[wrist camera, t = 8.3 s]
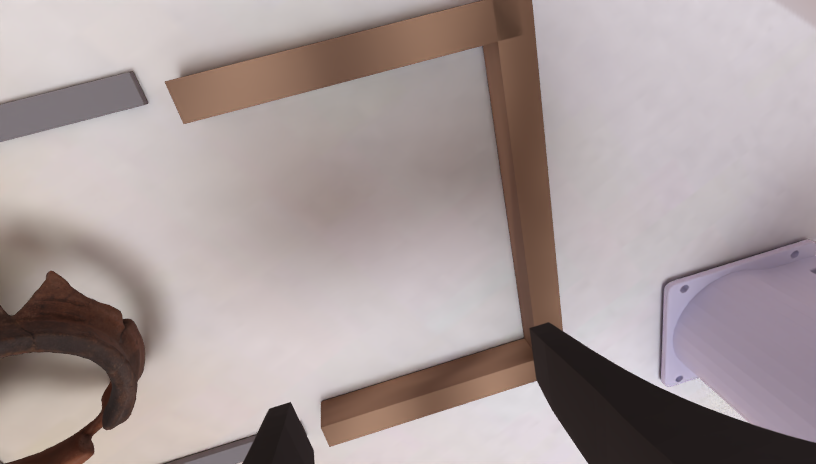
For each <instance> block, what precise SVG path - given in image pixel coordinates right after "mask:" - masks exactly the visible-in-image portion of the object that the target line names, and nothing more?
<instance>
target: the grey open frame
mask: <svg viewBox="0 0 816 464" xmlns="http://www.w3.org/2000/svg"><path fill="white" fill-rule="evenodd" d="M146 104H148V102H147V100H146V98H145V95H144V93H143V91H142V89H141V87H140V85H139V83H138V81H137V79H136V77H135V75H134V72H127V73H123V74H119V75H115V76H111V77H108V78H104V79H100V80H96V81H92V82H88V83H84V84H80V85H76V86H72V87H68V88H64V89H60V90H56V91H52V92H48V93H44V94H40V95H36V96H32V97H28V98H24V99H20V100H16V101H13V102H9V103H5V104H1V105H0V142H3V141H7V140H10V139H14V138H18V137H22V136H26V135H30V134H34V133H37V132H41V131H45V130H49V129H53V128H57V127H61V126H65V125H68V124H72V123H76V122H80V121H84V120H88V119H92V118H96V117H99V116H103V115H107V114H111V113H115V112H119V111H123V110H127V109H130V108H134V107H138V106H142V105H146ZM300 423H301V422H300ZM301 425H302V424H301ZM302 427H303V426H302ZM255 437H256V435H254V436H251V437H248V438H245V439H242V440H239V441H235V442H232V443H229V444H226V445H223V446H219V447H216V448H213V449H210V450H207V451H204V452H200V453H197V454H194V455H191V456H188V457H184V458H181V459H178V460H175V461H172V462H169V463H165V464H237V463H240V462H243V461H244V459H245V457H246V455H247V453H248V451H249V449H250V447H251V445H252V443H253V441H254V439H255ZM0 464H2V463H1V462H0Z"/></svg>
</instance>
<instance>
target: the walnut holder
mask: <svg viewBox="0 0 816 464" xmlns="http://www.w3.org/2000/svg"><path fill="white" fill-rule="evenodd" d="M479 46H483V51H484V58H485V65H486V72H487V79H488V86H489V93H490V100H491V107H492V114H493V121H494V128H495V135H496V142H497V149H498V156H499V163H500V170H501V177H502V184H503V191H504V198H505V205H506V212H507V219H508V226H509V233H510V240H511V248H512V255H513V262H514V269H515V276H516V283H517V290H518V297H519V304H520V311H521V318H522V325H523V332H524V338H523V339H520V340H517V341H514V342H511V343H507V344H504V345H501V346H498V347H495V348H491V349H488V350H485V351H482V352H479V353H475V354H472V355H469V356H466V357H463V358H459V359H456V360H453V361H450V362H447V363H443V364H440V365H437V366H434V367H431V368H427V369H424V370H421V371H418V372H415V373H411V374H408V375H405V376H402V377H399V378H395V379H392V380H389V381H386V382H382V383H379V384H376V385H373V386H370V387H366V388H363V389H360V390H357V391H354V392H350V393H347V394H344V395H341V396H338V397H334V398H331V399H328V400H325V401H322V402H321V429H322V431H323V433H324V436H325V438H326V440H327V442H328V444H329V447H331V446H334V445H337V444H340V443H343V442H347V441H350V440H353V439H356V438H359V437H362V436H365V435H368V434H372V433H375V432H378V431H381V430H384V429H387V428H390V427H393V426H397V425H400V424H403V423H406V422H409V421H412V420H415V419H418V418H422V417H425V416H428V415H431V414H434V413H437V412H440V411H443V410H447V409H450V408H453V407H456V406H459V405H462V404H465V403H468V402H472V401H475V400H478V399H481V398H484V397H487V396H490V395H493V394H497V393H500V392H503V391H506V390H509V389H512V388H515V387H519V386H522V385H525V384H528V383H531V382H534V381H537V380H536V374H535V367H534V359H533V352H532V344H531V337H530V330H529V328H531V327H535V326H538V325H541V324H544V323H547V322H549V323H551V324H553V325H554V326H556V327H557V328H559V329H560V330H562V331H563V328H562V317H561V306H560V296H559V285H558V274H557V263H556V253H555V242H554V231H553V220H552V210H551V199H550V188H549V177H548V166H547V156H546V145H545V134H544V123H543V113H542V102H541V91H540V80H539V69H538V59H537V48H536V37H535V26H534V16H533V5H532V0H482V1H478V2H474V3H470V4H466V5H462V6H458V7H455V8H451V9H447V10H443V11H439V12H435V13H431V14H427V15H423V16H419V17H415V18H412V19H408V20H404V21H400V22H396V23H392V24H388V25H384V26H380V27H376V28H372V29H368V30H365V31H361V32H357V33H353V34H349V35H345V36H341V37H337V38H333V39H329V40H325V41H322V42H318V43H314V44H310V45H306V46H302V47H298V48H294V49H290V50H286V51H282V52H278V53H275V54H271V55H267V56H263V57H259V58H255V59H251V60H247V61H243V62H239V63H235V64H232V65H228V66H224V67H220V68H216V69H212V70H208V71H204V72H200V73H196V74H192V75H188V76H185V77H181V78H177V79H173V80H169V81H165V84H166V86H167V88H168V90H169V93H170V95H171V97H172V99H173V101H174V104H175V106H176V108H177V110H178V113H179V115H180V117H181V119H182V121H183V124H186V123H190V122H194V121H198V120H202V119H205V118H209V117H213V116H217V115H221V114H224V113H228V112H232V111H236V110H240V109H243V108H247V107H251V106H255V105H259V104H262V103H266V102H270V101H274V100H278V99H281V98H285V97H289V96H293V95H297V94H300V93H304V92H308V91H312V90H316V89H319V88H323V87H327V86H331V85H335V84H338V83H342V82H346V81H350V80H354V79H357V78H361V77H365V76H369V75H373V74H376V73H380V72H384V71H388V70H392V69H396V68H399V67H403V66H407V65H411V64H415V63H418V62H422V61H426V60H430V59H434V58H437V57H441V56H445V55H449V54H453V53H456V52H460V51H464V50H468V49H472V48H475V47H479Z"/></svg>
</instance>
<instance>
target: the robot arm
mask: <svg viewBox="0 0 816 464" xmlns="http://www.w3.org/2000/svg"><path fill="white" fill-rule="evenodd" d="M682 286H683V287H682ZM681 287H682V288H681ZM529 330H530V337H531V344H532V352H533V359H534V367H535V374H536V380H537V382H538V384H539V386H540V388H541V390H542V392H543V394H544V396H545V397H546V399H547V401H548V403H549V405H550V407H551V409H552V411H553V412H554V414H555V415H556V417H557V418H558V420H559V421H560V423H561V424H562V426H563V427H564V429H565V430H566V432H567V433H568V434H569V436H570V437H571V439H572V440H573V442H574V443H575V445H576V446H577V448H578V449H579V451H580V452H581V454H582V455H583V457H584V458H585V459H586V461H587V462H588V464H816V242H814V241H811V240H809V239H808V240H803V241H800V242H797V243H794V244H790V245H787V246H784V247H781V248H778V249H774V250H771V251H768V252H765V253H761V254H758V255H755V256H752V257H749V258H745V259H742V260H739V261H736V262H732V263H729V264H726V265H723V266H720V267H716V268H713V269H710V270H707V271H703V272H700V273H697V274H694V275H691V276H687V277H684V278H681V279H678V280H674V281H672V282H669V283H668V284H667V285H666V286H665V289H664V307H663V337H662V368H661V381H662V383H663V384H664V385H665V386H667V387H671V386H674V385H677V384H680V383H683V382H686V381H690V380H693V379H696V378H700V379H701V380H702V381H703V382H704V383H705V384H707V385H708V386H709V387H710V388H711V389H712V390H713V391H714V392H716V393H717V394H718V395H719V396H720V397H721V398H722V399H723V400H724V401H726V402H727V403H728V404H729V405H730V406H731V407H732V408H733V409H735V410H736V411H737V412H738V413H739V414H740V415H741V416H742V417H744V418H745V419H746V420H747V421H748V422H749V423H747V422H744V421H741V420H738V419H735V418H732V417H729V416H727V415H724V414H722V413H719V412H716V411H714V410H711V409H708V408H706V407H703V406H700V405H698V404H696V403H693V402H691V401H688V400H686V399H684V398H681V397H679V396H677V395H675V394H673V393H670V392H668V391H666V390H664V389H662V388H659V387H657V386H655V385H653V384H651V383H649V382H647V381H645V380H643V379H642V378H640V377H638V376H636V375H634V374H632V373H630V372H628V371H627V370H625V369H623V368H621V367H620V366H618V365H616V364H614V363H613V362H611V361H609V360H608V359H606V358H604V357H603V356H601V355H599V354H598V353H596V352H594V351H593V350H591V349H590V348H588V347H586V346H585V345H583V344H582V343H580V342H579V341H577V340H576V339H574V338H573V337H571V336H570V335H568V334H567V333H565V332H563V331H562V330H560V329H559V328H557V327H556V326H554V325H553V324H551V323H549V322H547V323H544V324H541V325H538V326H535V327H531V328H529ZM242 464H315V463H314V450H313V448H312V446H311V444H310V442H309V440H308V437H307V435H306V433H305V431H304V429H303V427H302V425H301V423H300V421H299V419H298V417H297V414H296V412H295V410H294V408H293V406H292V404H291V402H289V403H286V404H283V405H280V406H276V407H273V408H270V409H269V411H268V412H267V414H266V416H265V418H264V420H263V422H262V424H261V427H260V429H259V431H258V433H257V435H256V437H255V439H254V441H253V443H252V445H251V447H250V449H249V451H248V453H247V455H246V457H245V459H244V461H243V463H242Z"/></svg>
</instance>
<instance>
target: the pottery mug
mask: <svg viewBox="0 0 816 464" xmlns="http://www.w3.org/2000/svg"><path fill="white" fill-rule="evenodd" d="M31 352H53V353H63V354H71V355H76V356H80V357H83V358H87V359H90V360H92V361H93V362H95V363H96V364H98V365H99V366H101V367H102V368H103V369H104V370H105V371H106V373H107V374H108V376H109V378H110V380H111V382H110V384H109V385H108V387H107V388H106V390H105V391H104V394H103V396H102V399H101V401H102V410H101V412H100V414H99V415H98V416H97V417H96V418H95V419H94V420H93V421H92V422H90V423H89V424H88V425H87V426H85V427H84V428H83V429H81V430H80V431H79V432H77V433H76V434H74V435H73V436H71V437H69V438H68V439H66V440H64V441H62V442H60V443H58V444H56V445H55V446H53V447H50V448H48V449H46V450H44V451H42V452H40V453H37V454H34V455H31V456H28V457H25V458H22V459H19V460H16V461H13V462H9V463H5V464H82V463H84V462H85V461H87V460H88V459H89V458H90V457H91V456H92V455H93V454H94V445H93V443H92V441H91V439H92V436H93V435H94V434H95V433H96V432H97V431H98V430H100V429H101V428H102V427H103V428H104V429H105V430H111V429H113V428H114V427H116V426H117V425H119V424H121V423H123V422H124V421H126V420H127V419H128V418H129V416H130V415H131V412H132V410H133V407H134V404H135V400H136V393H137V382H138V380H139V378H140V377H141V375H142V373H143V370H144V364H145V348H144V343H143V339H142V337H141V335H140V333H139V331H138V329H137V326H136V324H135V323H134V321H132V320H131V319H123V318H122V313H121V311H119V310H118V309H116V308H114V307H112V306H110V305H107V304H103V303H100V302H97V301H96V300H93V299H90V298H88V297H86V296H84V295H83V294H81V293H79V292H78V291H77V290H75V289H74V288H72V287H71V286H70V284H69V283H68V282H67V281H66V280H65V279H64V278H62V277H61V276H59V275H58V274H57V273H55V272H54V271H49V272H48V273H47V275H46V280H45V281H44V282H43V284H42V285H41V287H40V288H39V289H38V290H37V291H36V292H35V293H34V294H33V296H32V297H31V298H30V300H29V301H28V302H27V303H26V304H25V305H24V306H23V307H22V309H21V310H19V311H18V312H17V313H16V314H15V315H13V316H10V315H8V314H7V313H6V312H5V311H4V310H3V308H2V307H1V306H0V358H4V357H7V356H12V355H18V354H23V353H31Z"/></svg>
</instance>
